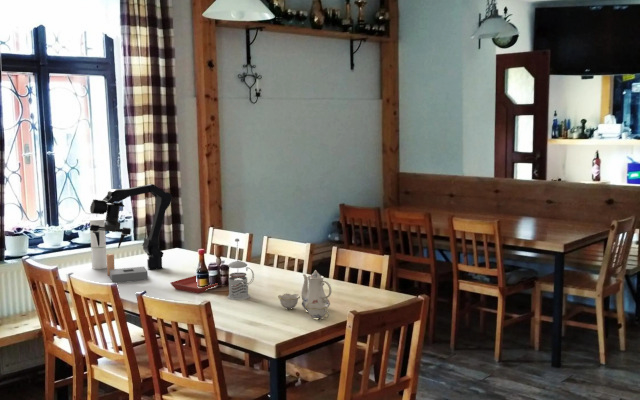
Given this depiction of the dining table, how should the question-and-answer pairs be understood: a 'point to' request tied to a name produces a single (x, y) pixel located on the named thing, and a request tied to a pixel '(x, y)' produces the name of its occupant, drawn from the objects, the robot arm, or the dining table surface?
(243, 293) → the french press
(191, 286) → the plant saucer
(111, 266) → the peg
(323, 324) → the dining table surface
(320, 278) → the chinaware
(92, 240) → the cylindrical container
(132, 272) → the socket block
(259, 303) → the dining table surface
